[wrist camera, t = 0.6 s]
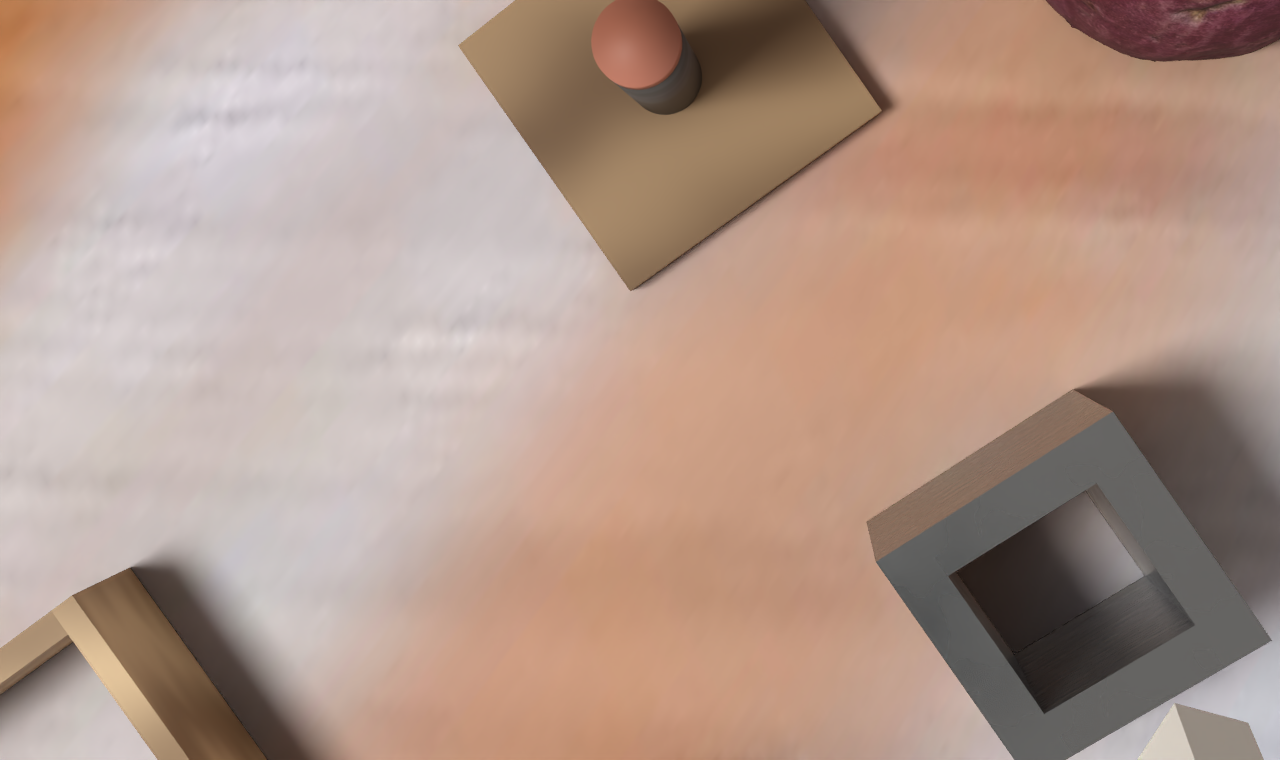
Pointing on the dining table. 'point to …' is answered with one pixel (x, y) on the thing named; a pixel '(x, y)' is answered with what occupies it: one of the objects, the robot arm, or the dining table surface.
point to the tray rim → (136, 670)
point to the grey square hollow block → (1094, 641)
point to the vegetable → (1176, 26)
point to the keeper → (667, 110)
